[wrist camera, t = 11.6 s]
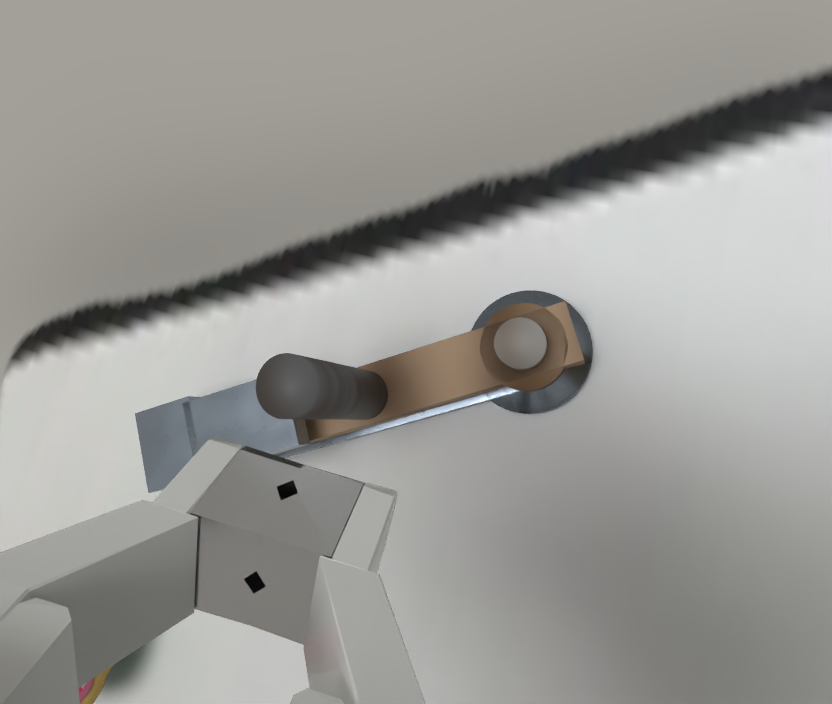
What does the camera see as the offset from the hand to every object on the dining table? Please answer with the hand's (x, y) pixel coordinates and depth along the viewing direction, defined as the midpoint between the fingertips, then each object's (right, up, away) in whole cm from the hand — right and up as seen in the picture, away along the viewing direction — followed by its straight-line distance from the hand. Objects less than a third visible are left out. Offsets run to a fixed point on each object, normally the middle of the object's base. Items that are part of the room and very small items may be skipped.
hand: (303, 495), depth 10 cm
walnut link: (+2, 0, +29) cm, 29 cm away
